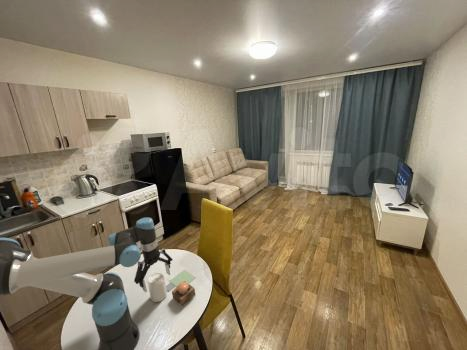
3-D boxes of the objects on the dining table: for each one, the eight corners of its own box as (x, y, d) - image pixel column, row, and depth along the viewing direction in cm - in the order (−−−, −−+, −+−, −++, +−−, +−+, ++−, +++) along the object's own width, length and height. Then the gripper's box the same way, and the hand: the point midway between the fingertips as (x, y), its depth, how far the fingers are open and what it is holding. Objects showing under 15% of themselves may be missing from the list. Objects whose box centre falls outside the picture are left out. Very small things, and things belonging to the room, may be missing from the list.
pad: (180, 290, 108) (180, 289, 108) (169, 281, 115) (169, 280, 114) (195, 277, 116) (195, 277, 116) (184, 269, 123) (184, 269, 123)
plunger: (183, 302, 99) (181, 293, 98) (176, 296, 103) (174, 287, 101) (192, 294, 104) (190, 285, 102) (185, 289, 108) (183, 280, 106)
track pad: (168, 291, 107) (168, 291, 107) (164, 287, 110) (164, 287, 110) (175, 286, 111) (175, 286, 110) (170, 282, 113) (170, 282, 113)
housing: (182, 306, 98) (181, 299, 97) (172, 298, 103) (171, 291, 102) (195, 295, 104) (194, 288, 103) (185, 287, 109) (184, 281, 108)
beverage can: (169, 290, 108) (166, 272, 105) (162, 303, 100) (159, 284, 97) (155, 289, 109) (152, 272, 106) (148, 302, 101) (144, 283, 98)
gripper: (127, 265, 85) (137, 302, 91) (175, 237, 104) (180, 270, 109) (120, 258, 90) (130, 294, 96) (167, 233, 108) (173, 264, 114)
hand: (157, 281), depth 103 cm, fingers open, 13 cm apart
